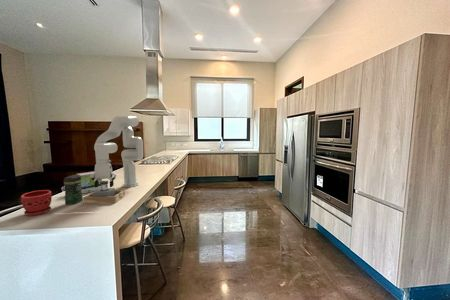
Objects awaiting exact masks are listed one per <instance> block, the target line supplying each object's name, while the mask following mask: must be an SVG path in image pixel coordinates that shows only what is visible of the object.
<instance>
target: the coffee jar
mask: <svg viewBox="0 0 450 300" xmlns="http://www.w3.org/2000/svg"><path fill="white" fill-rule="evenodd" d="M63 185H64V194H65V195H64V203H65V205H69V206H70V205H76V204H79V203H80V202H82V201H83V194H82V191H81V176H80V175H76V174H72V175H69V176H66V177H64V178H63Z"/></svg>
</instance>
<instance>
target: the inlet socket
mask: <svg viewBox="0 0 450 300" xmlns="http://www.w3.org/2000/svg"><path fill="white" fill-rule="evenodd" d="M115 191H116V189H115V187H108V191H101V189H99V190H97V191H93V192H94V197H105V196H115Z"/></svg>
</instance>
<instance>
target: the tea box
mask: <svg viewBox="0 0 450 300" xmlns="http://www.w3.org/2000/svg"><path fill="white" fill-rule="evenodd" d="M93 173H94V171H88V172H80V173H76V174H75V175H80V176H81V191H82V195H83V194H87V193H93V192H95V191H97V190H99V189H101V184H100V182H101V181H103V179H98V181H99V186H98V187H96V188H95V182H94V181H93V180H92V178H91V177H90V175H91V174H93ZM94 177H95V175H94Z"/></svg>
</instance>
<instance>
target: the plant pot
mask: <svg viewBox="0 0 450 300" xmlns="http://www.w3.org/2000/svg"><path fill="white" fill-rule="evenodd" d="M52 199H53V197H52V191H51V190H49V189H44V190H43V189H41V190H39V189H38V190H33V191H30V192H25V193H24V194H22V195H20V201H21V205H22V208H23V209H24V210H25V211H24V212H23V213H24V215H26V216H31V217H33V216H39V215H43V214H46V213H48V212H50V210H51V209H52V207H51V203H52Z"/></svg>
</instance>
